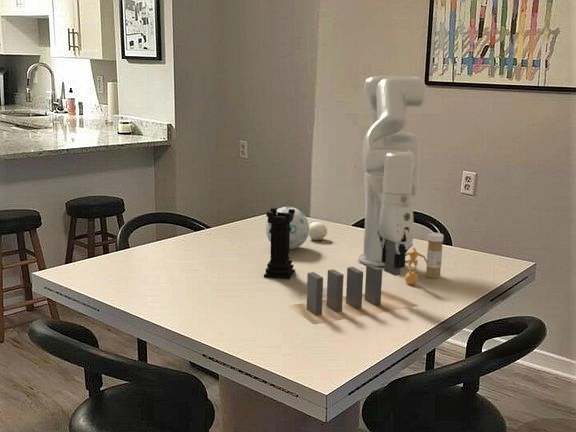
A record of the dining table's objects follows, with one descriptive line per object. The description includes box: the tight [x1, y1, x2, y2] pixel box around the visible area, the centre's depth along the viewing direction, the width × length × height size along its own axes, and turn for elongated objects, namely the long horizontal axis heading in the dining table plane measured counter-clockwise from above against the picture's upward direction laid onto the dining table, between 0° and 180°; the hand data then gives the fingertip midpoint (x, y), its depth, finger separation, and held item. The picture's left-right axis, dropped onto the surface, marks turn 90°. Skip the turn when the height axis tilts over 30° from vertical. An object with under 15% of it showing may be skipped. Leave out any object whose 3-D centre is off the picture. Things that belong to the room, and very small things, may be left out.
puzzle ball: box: [265, 206, 310, 251], centre depth 226 cm, size 15×15×15 cm
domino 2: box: [326, 269, 345, 312], centre depth 170 cm, size 2×5×10 cm, turn 26°
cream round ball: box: [308, 221, 328, 241], centre depth 240 cm, size 7×7×7 cm
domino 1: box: [306, 271, 324, 316], centre depth 167 cm, size 2×5×10 cm, turn 27°
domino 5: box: [383, 239, 403, 277], centre depth 175 cm, size 2×5×10 cm, turn 26°
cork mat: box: [288, 289, 419, 325], centre depth 173 cm, size 32×14×1 cm, turn 116°
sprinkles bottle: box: [425, 232, 444, 279], centre depth 199 cm, size 5×5×13 cm
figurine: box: [404, 246, 427, 286], centre depth 190 cm, size 8×6×12 cm
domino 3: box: [345, 266, 364, 309], centre depth 172 cm, size 2×5×10 cm, turn 26°
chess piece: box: [263, 207, 296, 281], centre depth 197 cm, size 8×8×20 cm
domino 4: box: [364, 264, 383, 306], centre depth 175 cm, size 2×5×10 cm, turn 26°
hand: (392, 264), depth 176 cm, fingers closed on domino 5, 4 cm apart
